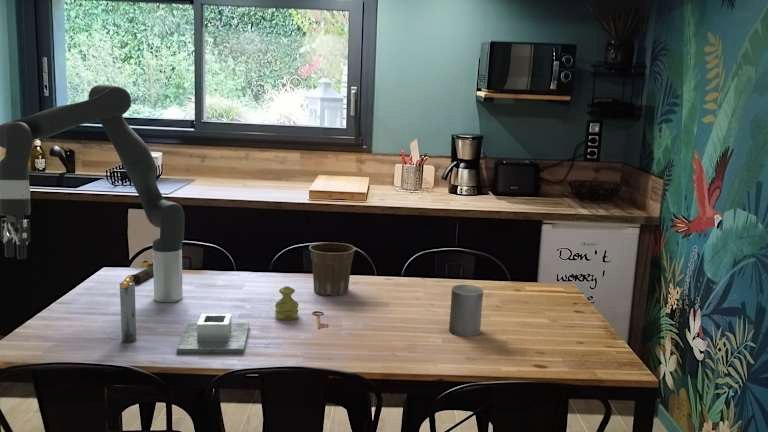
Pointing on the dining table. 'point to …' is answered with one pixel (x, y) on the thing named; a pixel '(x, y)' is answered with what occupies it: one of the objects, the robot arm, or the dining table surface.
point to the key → (319, 319)
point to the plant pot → (331, 267)
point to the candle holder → (214, 336)
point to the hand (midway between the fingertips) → (15, 257)
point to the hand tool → (143, 275)
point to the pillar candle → (466, 310)
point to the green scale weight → (286, 305)
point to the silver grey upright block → (128, 310)
